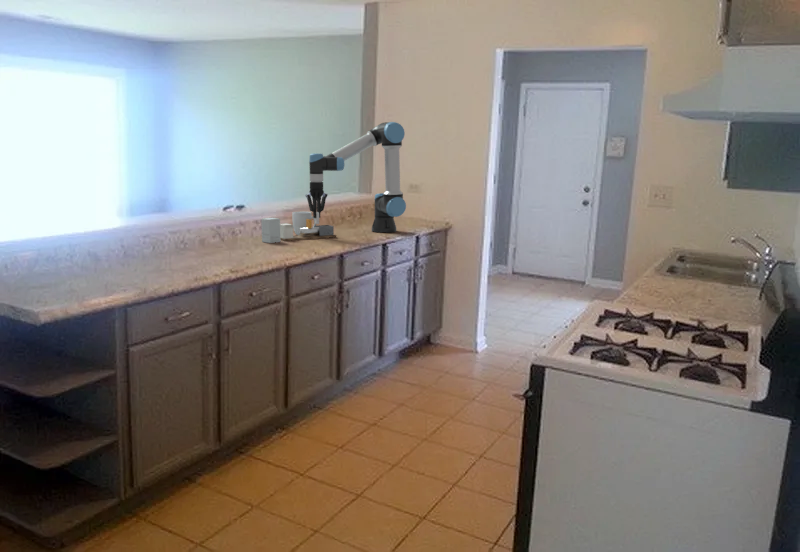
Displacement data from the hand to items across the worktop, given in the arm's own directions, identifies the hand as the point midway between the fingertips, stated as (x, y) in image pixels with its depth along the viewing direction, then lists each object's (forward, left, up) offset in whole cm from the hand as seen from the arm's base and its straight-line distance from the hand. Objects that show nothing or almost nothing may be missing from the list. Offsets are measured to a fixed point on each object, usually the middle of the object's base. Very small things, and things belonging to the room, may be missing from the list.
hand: (316, 223), depth 380 cm
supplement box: (+12, +27, -8) cm, 31 cm away
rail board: (+3, +5, -8) cm, 10 cm away
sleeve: (-2, -4, -7) cm, 8 cm away
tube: (+1, +1, -6) cm, 6 cm away
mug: (+13, -6, -8) cm, 16 cm away
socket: (+10, +17, -7) cm, 20 cm away
